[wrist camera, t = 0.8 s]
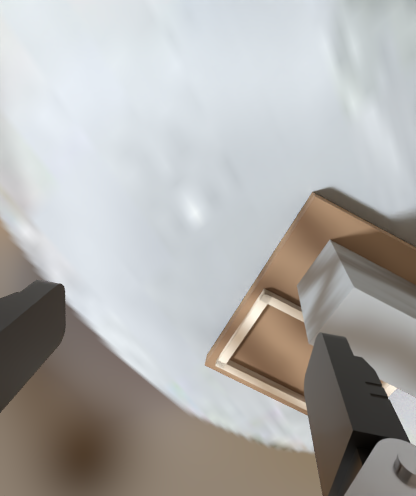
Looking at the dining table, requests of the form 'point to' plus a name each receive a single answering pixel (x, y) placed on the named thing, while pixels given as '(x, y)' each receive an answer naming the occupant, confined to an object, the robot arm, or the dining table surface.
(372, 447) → the robot arm
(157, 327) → the dining table surface
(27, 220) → the dining table surface
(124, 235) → the dining table surface
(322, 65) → the dining table surface
